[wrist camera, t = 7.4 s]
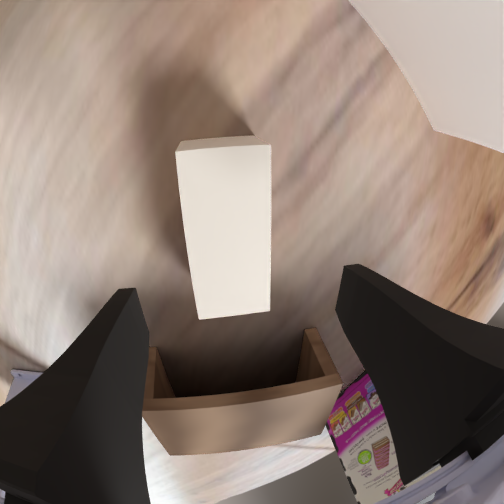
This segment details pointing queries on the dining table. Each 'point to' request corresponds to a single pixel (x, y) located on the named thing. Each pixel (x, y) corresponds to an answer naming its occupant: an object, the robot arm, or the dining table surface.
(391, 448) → the candy bar box
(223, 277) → the block
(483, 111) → the white tapered slotted holder
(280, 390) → the cubby
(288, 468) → the dining table surface
